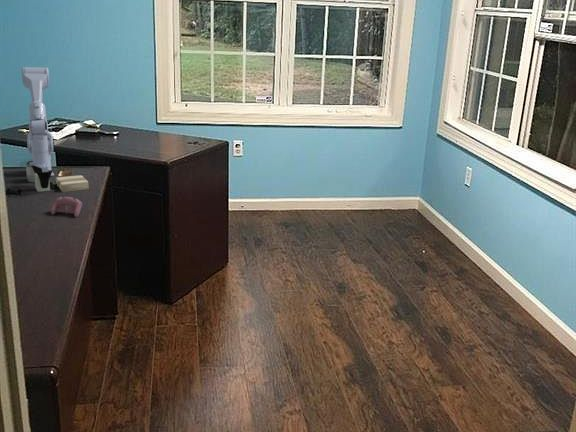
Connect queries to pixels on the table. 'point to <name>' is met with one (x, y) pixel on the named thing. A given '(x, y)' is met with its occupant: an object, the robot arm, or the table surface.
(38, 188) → the sage block
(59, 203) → the video game controller
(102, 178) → the table surface
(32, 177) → the camera lens
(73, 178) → the birch block
